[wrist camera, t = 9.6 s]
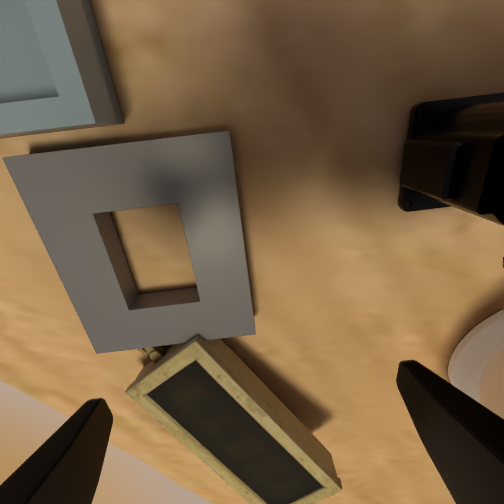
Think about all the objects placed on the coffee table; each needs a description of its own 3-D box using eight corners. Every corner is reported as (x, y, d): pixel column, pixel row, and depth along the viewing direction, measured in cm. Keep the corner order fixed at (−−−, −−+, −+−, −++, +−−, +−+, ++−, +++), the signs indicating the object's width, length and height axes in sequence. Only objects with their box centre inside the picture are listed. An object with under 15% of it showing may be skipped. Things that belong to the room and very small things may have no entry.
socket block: (229, 130, 16) (228, 130, 14) (254, 317, 22) (255, 334, 20) (28, 154, 16) (2, 157, 14) (107, 334, 22) (96, 353, 20)
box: (273, 470, 29) (275, 528, 25) (118, 330, 25) (83, 368, 20) (336, 435, 27) (351, 490, 23) (179, 277, 23) (157, 305, 18)
